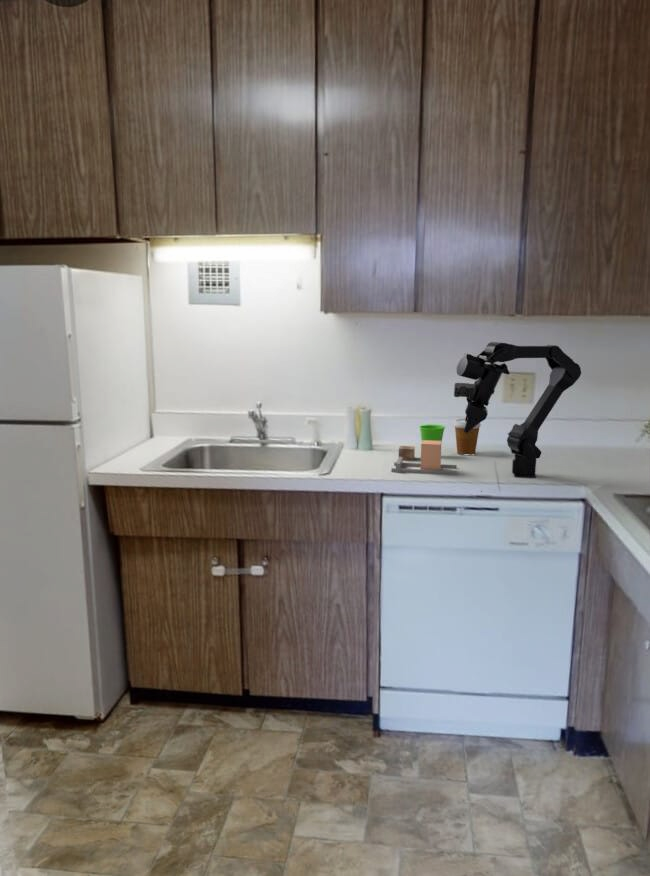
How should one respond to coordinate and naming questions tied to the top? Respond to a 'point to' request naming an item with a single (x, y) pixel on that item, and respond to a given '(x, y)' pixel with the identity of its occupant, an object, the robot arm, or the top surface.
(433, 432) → the cup
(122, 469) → the top surface
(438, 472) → the track
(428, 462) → the terracotta block
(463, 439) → the disposable coffee cup
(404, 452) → the walnut block
